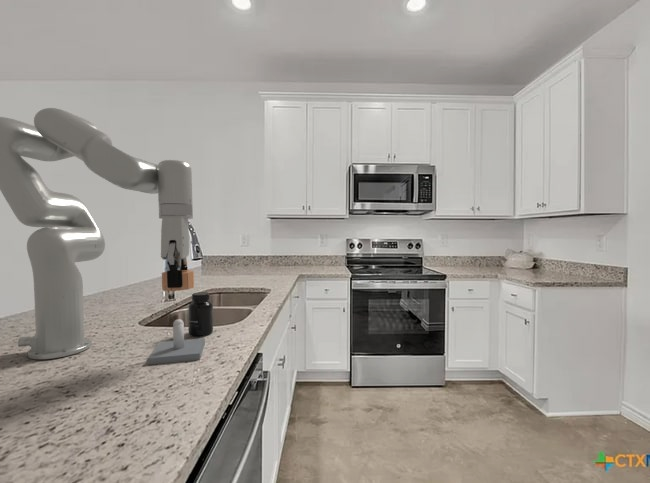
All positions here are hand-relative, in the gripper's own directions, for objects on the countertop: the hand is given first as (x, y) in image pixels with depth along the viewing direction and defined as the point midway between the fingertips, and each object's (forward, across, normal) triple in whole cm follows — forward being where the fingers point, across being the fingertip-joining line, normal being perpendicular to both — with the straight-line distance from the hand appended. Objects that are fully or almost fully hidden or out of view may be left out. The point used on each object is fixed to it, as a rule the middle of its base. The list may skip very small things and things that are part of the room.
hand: (178, 284), depth 79 cm
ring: (+1, 0, 0) cm, 1 cm away
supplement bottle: (+18, -15, +3) cm, 23 cm away
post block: (+17, 0, 0) cm, 17 cm away
